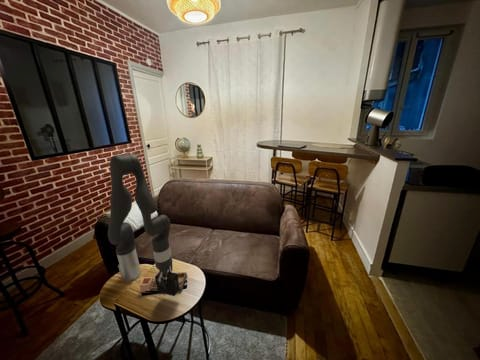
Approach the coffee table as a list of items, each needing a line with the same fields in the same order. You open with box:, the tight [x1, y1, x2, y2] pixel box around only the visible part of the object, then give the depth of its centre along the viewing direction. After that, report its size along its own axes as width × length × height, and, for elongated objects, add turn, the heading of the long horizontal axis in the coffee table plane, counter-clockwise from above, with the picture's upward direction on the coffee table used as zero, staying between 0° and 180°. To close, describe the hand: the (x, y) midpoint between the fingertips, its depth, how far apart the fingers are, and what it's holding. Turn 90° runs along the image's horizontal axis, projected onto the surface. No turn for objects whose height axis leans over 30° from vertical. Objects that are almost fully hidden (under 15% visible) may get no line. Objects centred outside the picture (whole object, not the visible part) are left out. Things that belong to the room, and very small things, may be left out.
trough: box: [150, 271, 188, 292], centre depth 106 cm, size 16×10×3 cm, turn 90°
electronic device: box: [154, 271, 180, 297], centre depth 95 cm, size 4×10×10 cm, turn 74°
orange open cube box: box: [139, 276, 155, 293], centre depth 103 cm, size 5×5×5 cm
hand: (167, 284), depth 95 cm, fingers closed on electronic device, 3 cm apart
